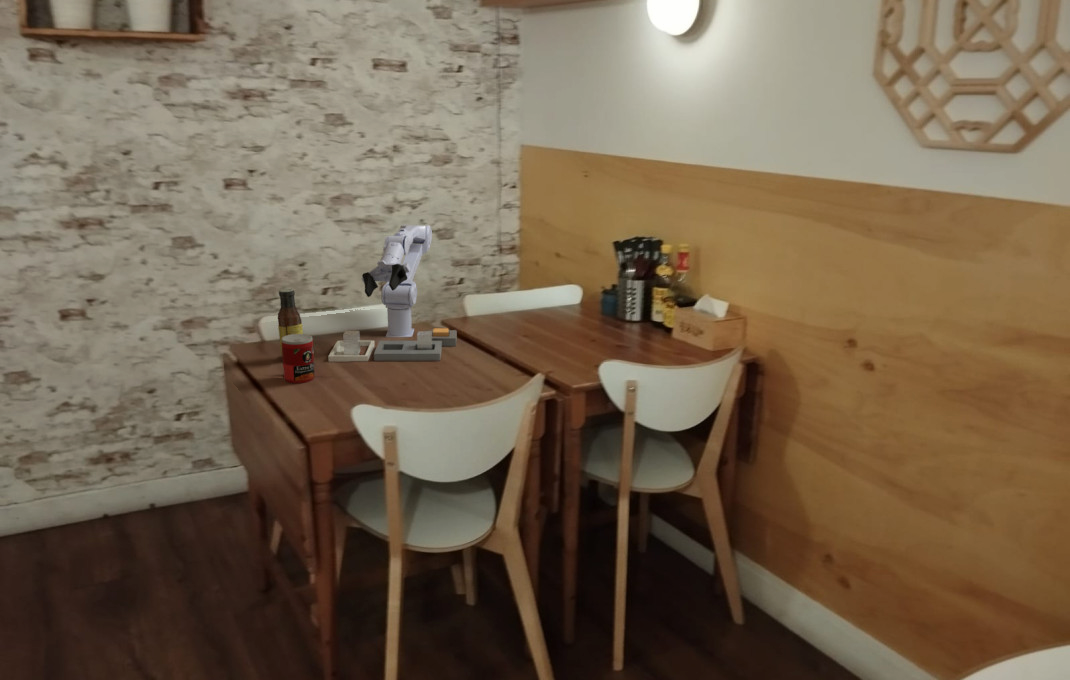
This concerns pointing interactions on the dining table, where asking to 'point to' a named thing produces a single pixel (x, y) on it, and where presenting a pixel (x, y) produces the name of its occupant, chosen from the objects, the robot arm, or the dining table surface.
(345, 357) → the tray
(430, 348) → the block
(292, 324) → the sauce bottle
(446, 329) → the button
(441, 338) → the button housing
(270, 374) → the dining table surface
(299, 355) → the canned food
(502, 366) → the dining table surface
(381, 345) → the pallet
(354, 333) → the steel block
